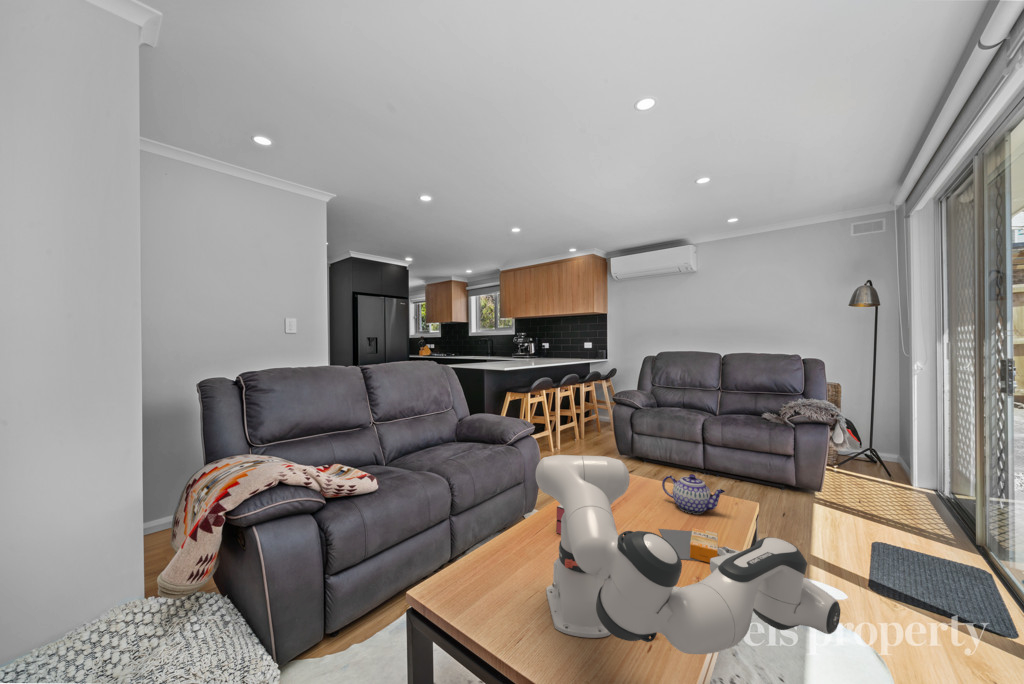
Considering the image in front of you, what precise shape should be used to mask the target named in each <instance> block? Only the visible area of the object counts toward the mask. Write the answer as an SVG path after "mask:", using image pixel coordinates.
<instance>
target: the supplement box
mask: <svg viewBox="0 0 1024 684" xmlns="http://www.w3.org/2000/svg"><path fill="white" fill-rule="evenodd" d="M691 531H692V535H691V542H690V558H694V559H697V560H701V561H700V562H704V563H705V562H706V563H708V564H710V559H711V558H714V557H718V556H719V554H718V548H719V545H718V544H719V542H718V540H719V536H718V535H719V534H718V533H717V532H713V531H709V530H704V529H698V528H695V527H692V530H691Z"/></svg>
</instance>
